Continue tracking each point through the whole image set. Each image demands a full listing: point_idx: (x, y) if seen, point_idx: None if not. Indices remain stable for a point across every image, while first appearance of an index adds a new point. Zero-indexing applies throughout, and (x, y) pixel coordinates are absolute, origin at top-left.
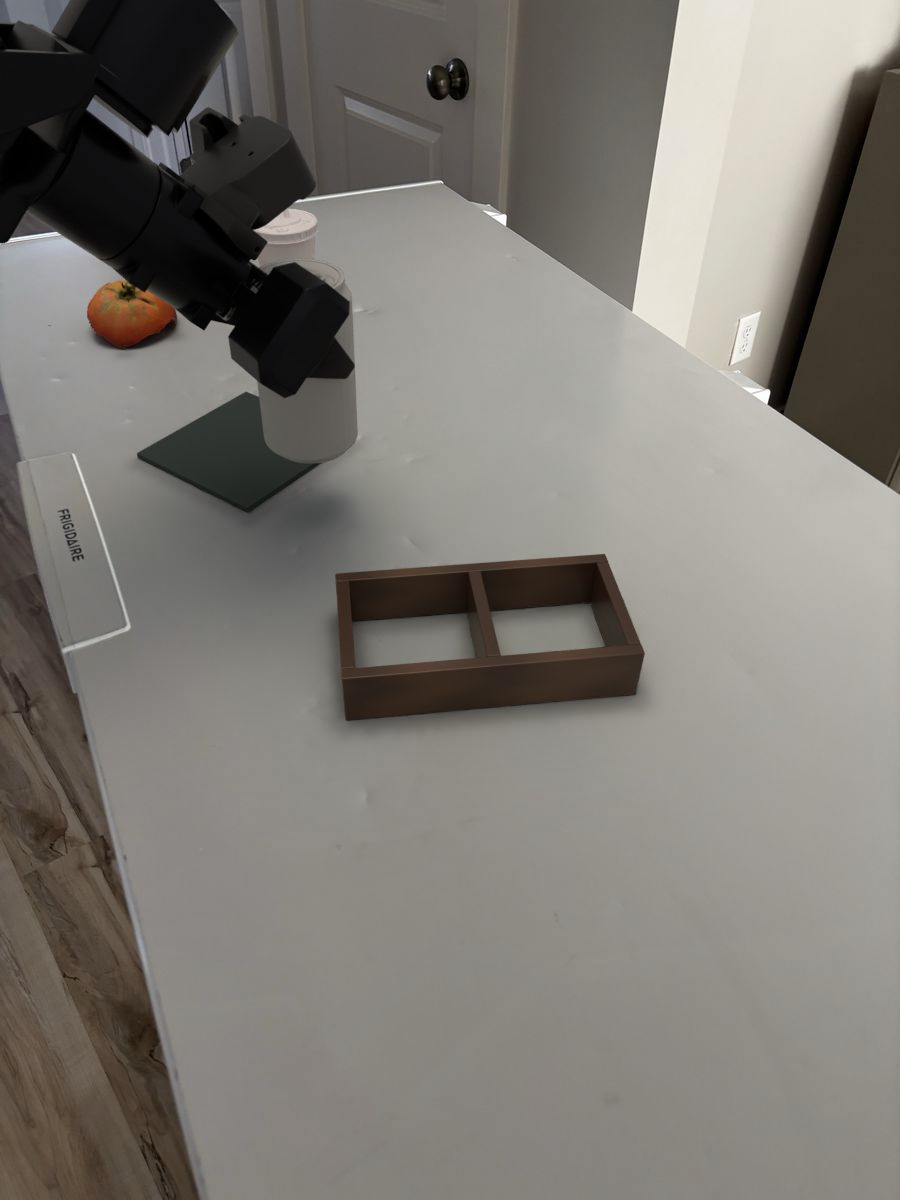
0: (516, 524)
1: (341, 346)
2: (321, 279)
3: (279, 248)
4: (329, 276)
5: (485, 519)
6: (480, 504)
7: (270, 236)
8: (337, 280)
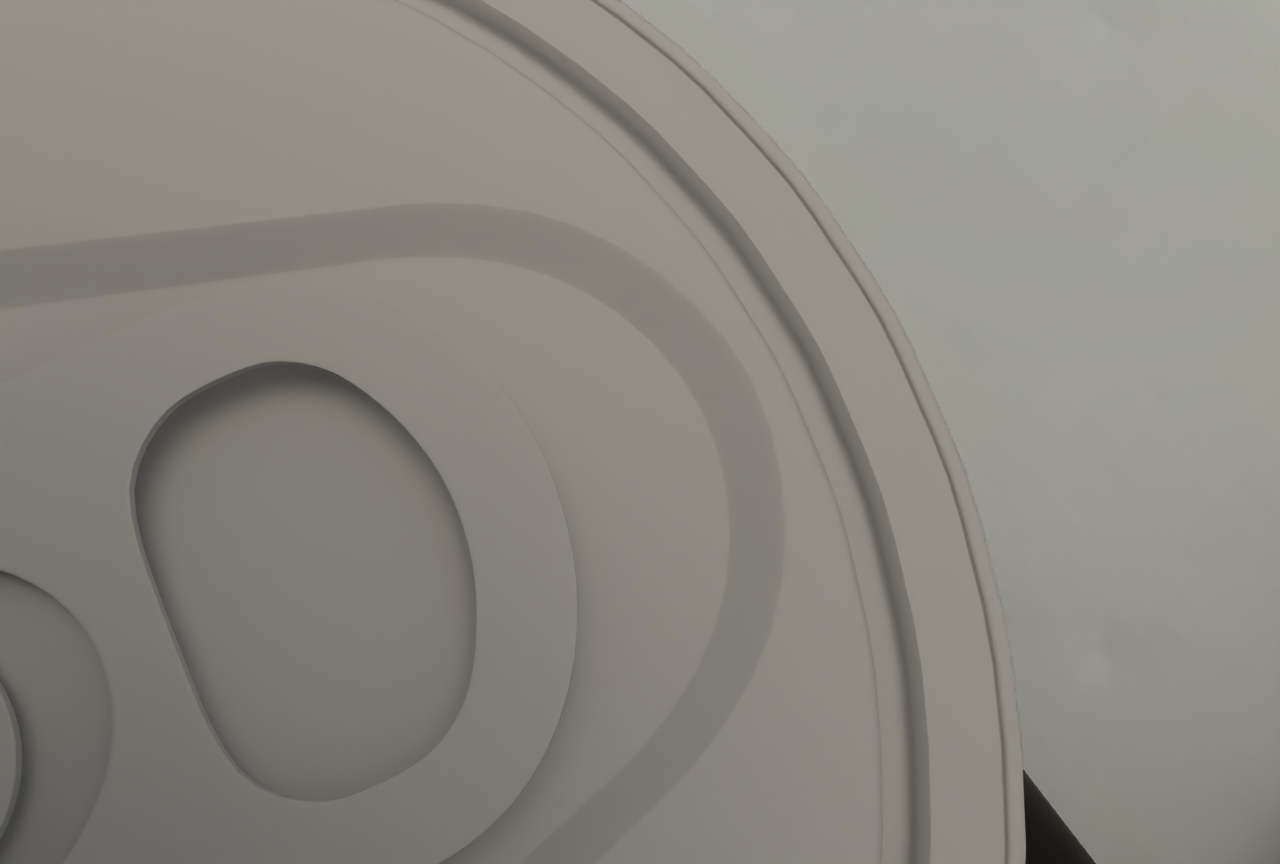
0: (1132, 262)
1: (1090, 858)
2: (521, 542)
3: None
4: (421, 231)
5: (1028, 316)
6: (945, 256)
7: None
8: (716, 269)
